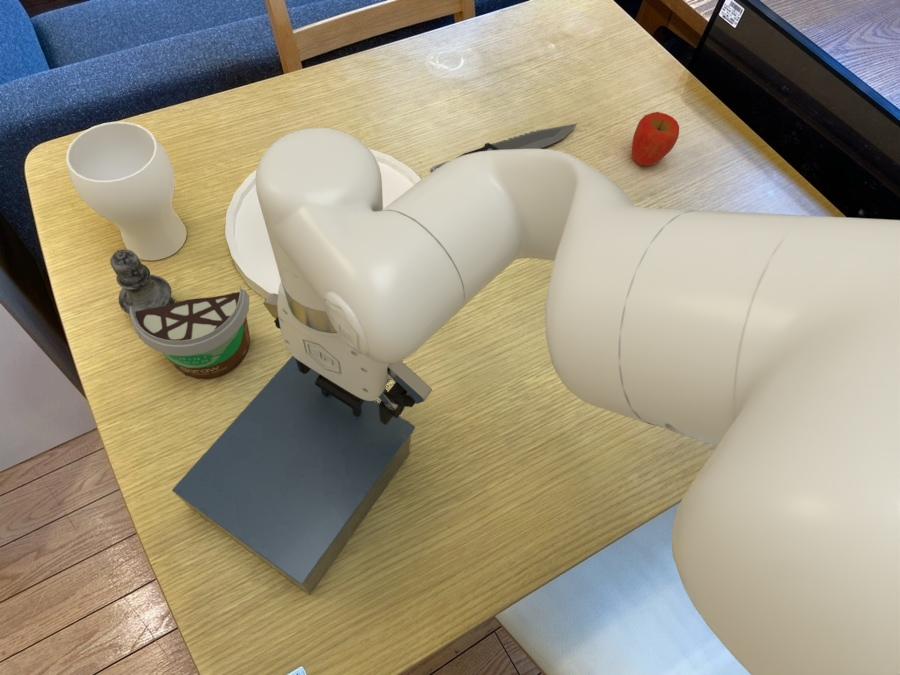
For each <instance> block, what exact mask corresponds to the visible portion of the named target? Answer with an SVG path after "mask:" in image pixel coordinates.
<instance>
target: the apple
mask: <svg viewBox="0 0 900 675" xmlns="http://www.w3.org/2000/svg"><path fill="white" fill-rule="evenodd" d="M679 136H680V125H679V123H678V121H677V120H676V119H675V118H674V117H673V116H671V115H669V114H667V113H663V112H660V111H654V112H650V113H647V114H644V116H643V117H642V118H641V119H640V120H639V122H638V123H637V125H636V128H635V131H634V133H633V137H632V143H631V157H632V159H633V162H634V163H636V164H637V165H640V166H643V167H649V166H652V165H654V164H657V163H658V162H659V161H661V160H662V159H664V157H666V156H667V155H668V154H669V153H670V152H671V151H672V149H673V148H674V147H675V145H676V143H677V142H678V139H679Z"/></svg>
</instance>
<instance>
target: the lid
mask: <svg viewBox="0 0 900 675" xmlns="http://www.w3.org/2000/svg"><path fill="white" fill-rule="evenodd" d="M379 403H380V402H378V401H377V400H375V401H366V400H363V399H361V398H359V397H357V396H355V395H353V394H352V393H350V392H348V391H347V390H345V389H343V388H342V387H340V386H338V385H337V384H335V383H334V382H332V381H330V380H329V379H327V378H325V377H324V376H322V375H321V374H319V373H317V372H316V371H314V370H313V369H310V371H309V372H308V373H307V374H303V373H301V372H300V371H299V369H298V366H297V362H296V359H295V357H293V356H292V355H291V357H289V359H288V360H287V361H286V362H285V363H284V364H283V366H281V368H280V369H279V370H278V372H276V373H275V374H274V376H273V377H271V379H270V380H269V381H268V382H267V383H266V385H265V386H264V387H263V388H262V389H261V390H260V391H259V392H258V394H256V396H255V397H253V399H252V400H251V401H250V402H249V403H248V405H246V406H245V408H244V409H243V410H242V411H241V413H240V414H239V415H238V416H237V417H236V418H235V419H234V420H233V422H231V423H230V425H229V426H228V427H227V428H226V429H225V430H224V431H223V432H222V434H221V435H219V437H218V438H217V439H216V440H214V441H215V442H213V444H211V446H210V447H209V448H208V449H207V450H206V451H205V452H204V454H203V455H202V456H200V458H199V459H198V460H197V461H196V463H194V465H193V466H192V467H190V469H189V470H188V471H187V472H186V474H185V475H184V476H183V477H182V478H181V479H180V480H179V481H178V482H177V483H176V485H175V486H174V487H173V488H172V489H171V491H172V492H173V493H174V494H175V493H176V494H177V495H178V496H180V497H181V498H182V499H184V500H185V501H186V502H188V503H189V504H191V505H192V506H193V507H195V508H196V509H197V510H199V511H200V512H202V513H203V514H204V515H206V516H207V517H208V518H210V519H211V520H213V521H214V522H215V523H217V524H218V525H219V526H221V527H222V528H224V529H225V530H226V531H228V532H229V533H230V534H232V535H233V536H235V537H236V538H237V539H239V540H240V541H241V542H243V543H244V544H246V545H247V546H248V547H250V548H251V549H252V550H254V551H255V552H257V553H258V554H259V555H261V556H262V557H263V558H265V559H266V560H268V561H269V562H270V563H272V564H273V565H274V566H276V567H277V568H279V569H280V570H281V571H283V572H284V573H285V574H287V575H288V576H290V577H291V578H292V579H294V580H295V581H296V582H298V583H299V584H301V585H302V586H303V585H304V583H305V582H306V581H307V579H308V578H309V576H310V575H311V574H312V572H313V571H314V569H315V568H316V567H317V565H318V564H319V562H320V561H321V560H322V558H323V557H324V556H325V554H326V553H327V551H328V550H329V549H330V547H331V546H332V544H333V543H334V542H335V540H336V539H337V537H338V536H339V535H340V533H341V532H342V530H343V529H344V528H345V526H346V525H347V523H348V522H349V521H350V519H351V518H352V517H353V515H354V514H355V512H356V511H357V510H358V508H359V507H360V505H361V504H362V503H363V501H364V500H365V498H366V497H367V496H368V494H369V493H370V491H371V490H372V489H373V487H374V486H375V484H376V483H377V482H378V480H379V479H380V477H381V476H382V475H383V473H384V472H385V471H386V469H387V468H388V466H389V465H390V464H391V462H392V461H393V459H394V458H395V457H396V455H397V454H398V452H399V451H400V450H401V448H402V447H403V445H404V444H405V443H406V441H407V440H408V438H409V437H410V436H412V434H413V433H414V432H415V430H416V425H414V424H413V423H411V422H409V421H408V420H406V419H404V418H403V417H402V416H399V417H398V418H395V417H394V416H393V417H392V418H391V419H390V421H389V422H388V423H387V424H386V425H385V424H383V423H381V420H380V415H379ZM176 494H175V495H176ZM177 495H176V496H177ZM178 496H177V497H178Z"/></svg>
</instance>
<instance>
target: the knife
mask: <svg viewBox="0 0 900 675" xmlns="http://www.w3.org/2000/svg"><path fill="white" fill-rule="evenodd" d="M577 125H578V123H572V124H567V125H566V124H565V125H562V126H561V125H560V126H556V127H549V128H543V129H539V130H538V129H537V130H535V131H534V130H533V131H529V132H525V133H524V134H520V135H518V136H517V135H516V136H513V137H510V138H507V139H503V140H500V141H497V142H494V143H493V142H492V143H490V142H485V144H484V146H483V147H480V148H477V149H473V150H471V151H467V152H463V153H462V154H460V155H458V156H457V157H456V158H458V157H460V156H463V155H467V154H471V153H475V152H481V151H490V150H509V149H543V148H545V147H548V146H550V145H553V144H556V143H557V142H559V141H561V140H562V139H564V138H565V137H567V136H568V135H569V134H570V133H571V132H572V131H573V130H574V129H575V127H576V126H577ZM449 161H450V160H447V161H444V162H440V163H437V164H436V165H433V166H432V167H430V169H429V170H430V171H432V172H433V171H434V170H436V169H437V168H439V167H440V166H442V165H444V164H445V163H447V162H449Z"/></svg>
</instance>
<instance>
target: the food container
mask: <svg viewBox="0 0 900 675" xmlns="http://www.w3.org/2000/svg"><path fill="white" fill-rule="evenodd" d="M249 309H250V295H249V293H248V292H247V291H246V290H245V288H242V287H241V285H239V291H237V292H231V293H227V294H223V295H218V296H210V297H200V298H199V297H198V298H190V299H186V300H185V299H184V300H180V301H178V302H176V303H174V304H170V305H166V306H162V307H157V308H152V309H146V310H140V311H135V310H134V309H133V308H132V307H131V306H130V310H129V311H130V315H129V316H130V320H131V324H132V327H133V330H134V332H135V334H136V335H137V337H138V338H139V339H140V340H141V341H142V342H143V344H145V345H146V346H148V347H149V348H150V349H152V350H154V351H157V352H158V353H162V355H163V356H164V357H165V358H166V359H167V360H168V361H169V362H170V363H171V365H173V366H174V367H175V369H176V370H178V371H179V372H181V373H182V374H183V375H185V376H186V377H189V378H192V379H196V380H212V379H217V378H220V377H223V376H225V375H227V374H229V373H231V372H233V371H234V370H235V369H236V368H238V366H239V365H240V364H241V363H242V362H243V361H244V359H245V358H246V356H247V353H248V352H249V349H250V343H251V337H250V330H249V324H248V318H247V317H248V316H247V315H248V313H249Z"/></svg>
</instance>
